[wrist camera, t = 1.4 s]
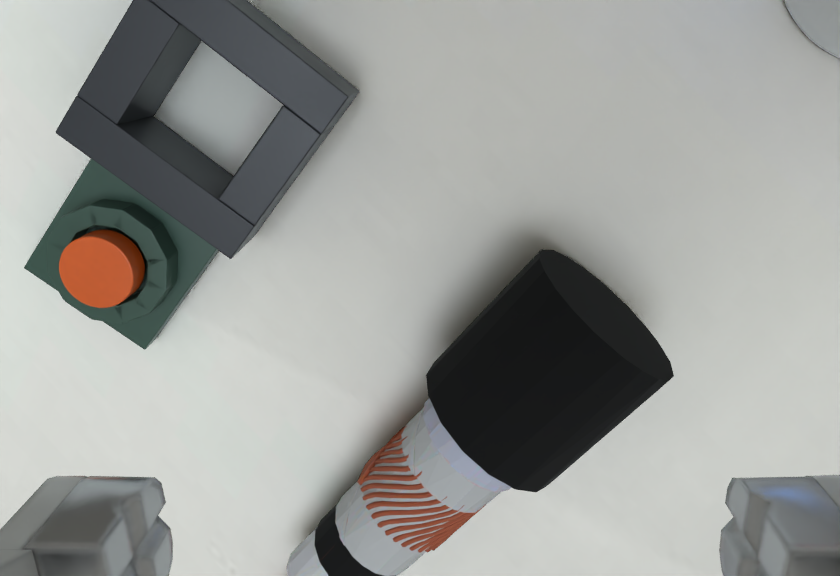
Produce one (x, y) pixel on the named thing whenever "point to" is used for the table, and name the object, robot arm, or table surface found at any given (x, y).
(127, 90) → the grey square frame
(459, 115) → the table surface
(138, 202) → the switch box
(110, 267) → the power button
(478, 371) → the multicoloured piece
